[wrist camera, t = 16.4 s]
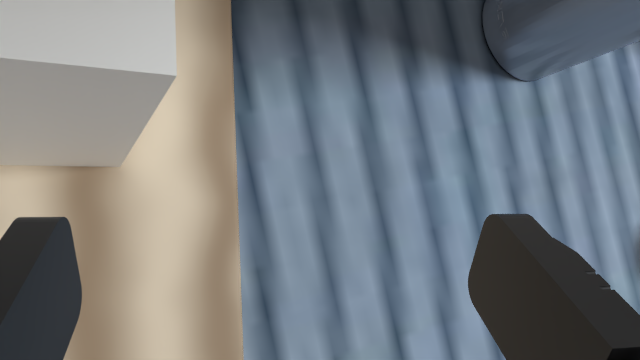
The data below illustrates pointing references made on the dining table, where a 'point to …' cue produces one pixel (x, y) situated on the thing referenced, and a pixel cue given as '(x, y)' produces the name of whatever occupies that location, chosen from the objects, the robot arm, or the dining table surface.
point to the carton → (81, 78)
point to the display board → (156, 215)
